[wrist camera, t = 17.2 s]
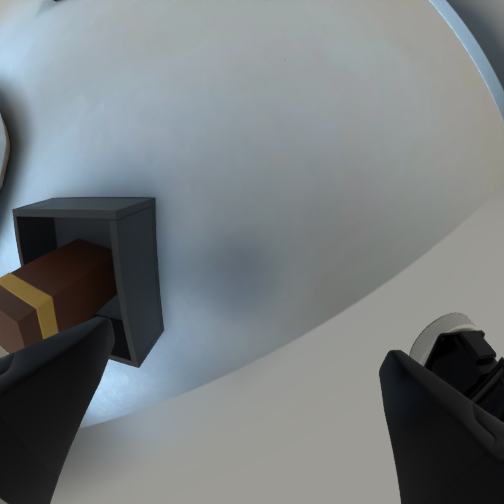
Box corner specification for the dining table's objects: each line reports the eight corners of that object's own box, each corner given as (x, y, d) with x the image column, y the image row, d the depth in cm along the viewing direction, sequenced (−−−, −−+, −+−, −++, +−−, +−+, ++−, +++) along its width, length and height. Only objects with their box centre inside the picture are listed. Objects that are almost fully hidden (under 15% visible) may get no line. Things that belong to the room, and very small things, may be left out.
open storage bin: (164, 330, 24) (139, 368, 19) (70, 307, 25) (39, 332, 20) (155, 197, 20) (116, 210, 15) (52, 197, 21) (12, 209, 16)
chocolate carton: (121, 251, 21) (17, 322, 10) (119, 292, 22) (35, 374, 11) (78, 237, 21) (-22, 290, 10) (79, 276, 23) (-7, 339, 11)
